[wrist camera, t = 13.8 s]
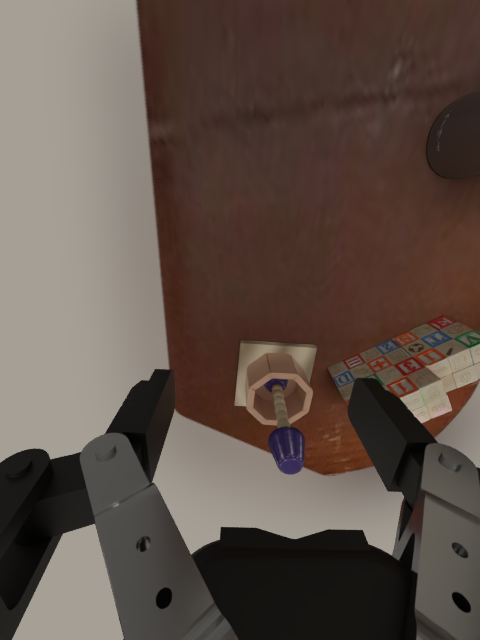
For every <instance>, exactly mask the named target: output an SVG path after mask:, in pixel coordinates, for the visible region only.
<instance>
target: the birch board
mask: <svg viewBox="0 0 480 640" xmlns="http://www.w3.org/2000/svg"><path fill="white" fill-rule="evenodd" d="M316 351H317V347H316V345H310V344H295V343H280V342H265V341H250V340H240V350H239V361H238V371H237V381H236V392H235V406H246V394H245V381H246V372H247V367H248V365H250V364H251V363H252V362H254V361H255V360H257V359H258V358H259V357H261V356H262V355H263V354H265V353H266V354H267V353H279V354H289V355H291V356H292V357H293V358H294V359H295V360H296V362H297V363H298V364H299V365H300V366H301V367H302V368H303V370H304V372H305V374H306V376H307V379H308V381H309V383H310V378H311V374H312V369H313V365H314V360H315V355H316Z"/></svg>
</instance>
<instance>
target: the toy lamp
mask: <svg viewBox="0 0 480 640" xmlns="http://www.w3.org/2000/svg"><path fill="white" fill-rule="evenodd" d="M287 384H288V379H276V378H272V379H271V380H269V381H268V382H266V383H265V384H264V386H265V388H266V389H267V390H268V391H269V392H272V393H273V399H274V406H275V413H276V420H277V422H278V423H277V427H278V429H276V430H274V431H273V432H272V433H271V434H270V436H269V440H268V444H269V447H270V450H271V452H272V455H273V457H274V459H275V461H276V464H277V466H278V468H279V469H280V471H281V472H283V473H285V474H295V473H298V472H299V471H300V470H301V469H302V468H303V464H304V449H305V439H304V436H303V434H302V433H301V432H300V431H299V430H298V429H296V428H294V427H290V423H289V421H288V420H289V417H288V414H287V408H286V406H285V400H284V394H283V390H284V389H285V388H286V387H287Z"/></svg>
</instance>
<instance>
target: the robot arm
mask: <svg viewBox="0 0 480 640" xmlns="http://www.w3.org/2000/svg"><path fill="white" fill-rule="evenodd" d="M427 156H428V161H429V163H430V165H431V167H432V169H433V170H434V171H435V172H436V173H437V174H439V175H440V176H442V177H445V178H452V179H454V178H461V177H469V176H476V175H480V89H478V90H476V91H474V92H472V93H470V94H468V95H466V96H464V97H462V98H460V99H458V100H457V101H455V102H453V103H452V104H450V105H449V106H448V107H447V108H446V109H445V110H444V111H443V112H442V113H441V114H440V115H439V117H438V118H437V120H436V121H435V123H434V125H433V126H432V129H431V132H430V134H429V138H428V143H427ZM174 408H175V386H174V372H173V370H164V369H155V371H154V372H153V374H152V376H151V378H150V380H149V381H143V380H142V381H140V382H139V383H138V384H136V385H135V386H134V387H132V389H131V390H130V392H129V394H128V396H127V398H126V399H125V401H124V402H123V404H122V406H121V407H120V409H119V411H118V412H117V414H116V416H115V418H114V419H113V421H112V423H111V424H110V426H109V428H108V429H107V431H106V433H105V434H104V435H101V436H99V437H97V438H95V439H93V440H92V441H90V442H89V443H88V444H87V445H86V446H85V447H84V448H83V450H82V452H80V453H76V454H73V455H68V456H64V457H59V458H55V459H50V457H49V455H48V453H47V452H46V451H44V450H42V449H28V450H24V451H21V452H18V453H16V454H14V455H12V456H10V457H8V458H7V459H5V460H4V461H2V462H1V463H0V640H12V638H13V636H14V634H15V632H16V630H17V627H18V626H19V623H20V621H21V619H22V617H23V615H24V613H25V611H26V609H27V607H28V605H29V603H30V601H31V599H32V596H33V594H34V592H35V590H36V588H37V586H38V584H39V582H40V580H41V578H42V576H43V574H44V572H45V569H46V567H47V565H48V563H49V561H50V559H51V557H52V555H53V553H54V551H55V549H56V547H57V545H58V542H59V540H60V538H61V536H62V534H63V533H66V532H69V531H73V530H76V529H79V528H82V527H85V526H89V525H92V524H95V525H96V529H97V533H98V537H99V541H100V545H101V548H102V552H103V556H104V560H105V564H106V568H107V572H108V576H109V580H110V584H111V588H112V592H113V596H114V600H115V604H116V608H117V612H118V616H119V620H120V624H121V628H122V632H123V635H124V639H123V640H480V468H477V467H475V465H474V464H473V462H472V461H471V460H470V459H469V458H468V457H466V456H465V455H464V454H463V453H461V452H459V451H458V450H456V449H454V448H452V447H450V446H447V445H444V444H439V443H438V442H437V441H436V440H435V439H434V437H433V436H432V435H431V434H430V433H429V432H428V431H427V429H426V428H425V427H424V426H423V425H422V424H421V422H420V421H419V420H418V419H417V418H416V417H414V414H413V413H412V412H411V411H410V410H409V409H408V407H407V406H406V405H405V404H404V403H403V402H402V400H401V399H400V398H399V397H397V396H396V395H394V394H393V393H391V392H390V391H389V390H385V389H384V387H383V386H382V385H381V384H380V383H379V381H378V380H377V379H375V378H356V379H355V381H354V385H353V389H352V392H351V396H350V400H349V404H348V416H349V419H350V421H351V423H352V425H353V427H354V429H355V431H356V433H357V435H358V436H359V438H360V440H361V442H362V444H363V446H364V448H365V449H366V451H367V453H368V455H369V457H370V459H371V461H372V463H373V464H374V466H375V468H376V470H377V472H378V474H379V476H380V477H381V479H382V481H383V483H384V485H385V487H386V489H387V490H388V491H395V492H402V493H403V495H404V499H403V501H402V505H401V511H400V517H399V522H398V528H397V534H396V540H395V545H394V550H393V554H392V556H391V555H390V554H388V553H386V552H384V551H383V550H381V549H378V548H376V547H374V546H372V545H369V544H368V542H367V540H366V537H365V535H364V532H363V530H325V531H322V532H319V533H315V534H312V535H309V536H305V537H302V538H299V539H290V538H287V537H283V536H280V535H277V534H274V533H271V532H268V531H264V530H261V529H258V528H238V527H237V528H236V527H221V534H220V540H218V541H215V542H212V543H209V544H207V545H205V546H203V547H202V548H200V549H198V550H197V551H195V552H194V553H193V554H192V555H191V554H190V552H189V550H188V548H187V546H186V544H185V542H184V540H183V538H182V536H181V534H180V532H179V530H178V528H177V526H176V524H175V522H174V520H173V518H172V516H171V514H170V512H169V510H168V508H167V506H166V504H165V502H164V500H163V498H162V496H161V494H160V492H159V490H158V488H157V486H156V485H155V484H154V483H152V480H153V477H154V474H155V471H156V468H157V464H158V461H159V458H160V455H161V451H162V448H163V445H164V442H165V439H166V436H167V432H168V429H169V426H170V422H171V420H172V416H173V413H174Z"/></svg>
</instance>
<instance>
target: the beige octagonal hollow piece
mask: <svg viewBox="0 0 480 640" xmlns="http://www.w3.org/2000/svg"><path fill="white" fill-rule="evenodd" d="M272 378H276V379H288V384H287V387H286V388H285V389H284V390H283V394H284V400H285V406H286V408H287V414H288V417H289V420H288V421H289V423H290V424H291V423H293V422H294V421H296V420H297V419H299V418H301V417H302V416H304V415H305V414H307V413H308V412H309V408H310V404H311V399H312V395H313V390H312V388H311V385H310V383H309V381H308V379H307V376H306V374H305V372H304V370H303V368H302V367H301V366H300V365H299V364H298V363H297V362H296V360H295V359H294V358H293V357H292V356H291V355H289V354H279V353H267V354H266V353H265V354H263V355H262V356H261V357H259V358H258V359H257V360H255V361H254V362H252V363H251V364H250V365H248V367H247V372H246V381H245V394H246V409H247V410H248V411H249V412H250V413H251V414H252V415H253V416H254V417H255V418H256V419H257V420H258V421H259V422H260V423H262V424H263V425H277V423H278V422H277V420H276V413H275V406H274V399H273V393H272V392H269V391H268V390H267V389H266V388H265V386H264V384H265V383H266V382H268V381H269V380H271V379H272Z"/></svg>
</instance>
